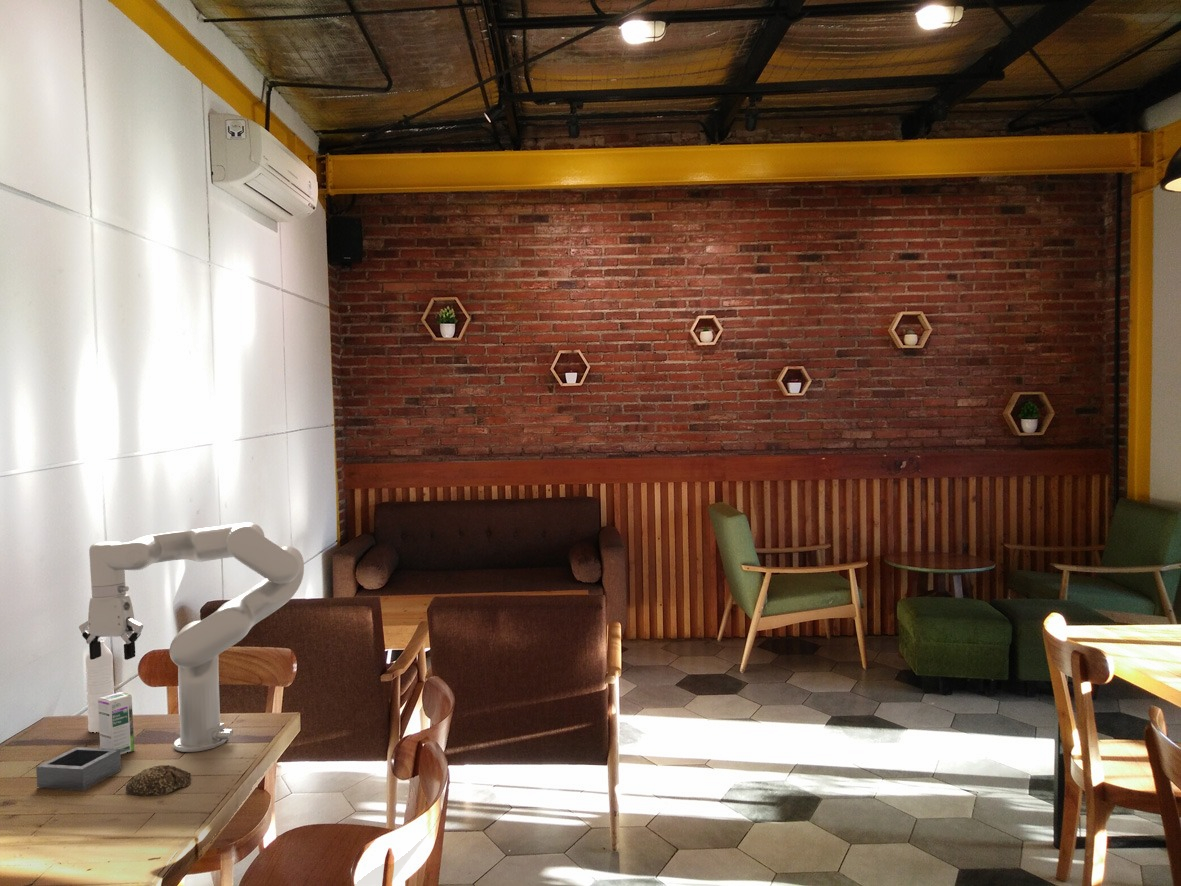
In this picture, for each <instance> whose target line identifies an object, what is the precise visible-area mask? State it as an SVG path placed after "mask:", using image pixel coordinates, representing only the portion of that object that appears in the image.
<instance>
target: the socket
mask: <svg viewBox="0 0 1181 886" xmlns="http://www.w3.org/2000/svg"><path fill="white" fill-rule="evenodd" d="M35 769H36V772H35V773H36V787H39V788H38V789H40V788H48V789H47V790H57V789H62V790H63V791H75V792H76V791H77V792H78V791H79V792H84V791H86V790H87V789H89V788H91V787H93V786H94V784H95V785H96V783H97V784H99V783H100V782H102V781H103V780H106V779H107V778H109V777H111V776H112V775H114V774H116V773H118V772H119V770H120V771H121V770H122V766H121V755H120V749H105V748H100V747H99V748H98V747H84V746H79V747H78V746H76V747H75V746H74V747H73V748H71V749H69V750H67V751H65V752H64V753H61V754H59V755H57V756H56V757H55V756H54V757H53V758H51V759H50V760H47V761H45V762H43V763H41V764H39V765H37V766H36V767H35ZM110 775H111V776H110ZM49 788H50V789H49ZM62 790H61V791H62Z"/></svg>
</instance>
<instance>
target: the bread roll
mask: <svg viewBox="0 0 1181 886" xmlns="http://www.w3.org/2000/svg"><path fill="white" fill-rule="evenodd" d="M191 774H192V773H191V772H189V771H186V770H184V769H182V768H179V767H176V766H174V765H168V764H167V765H166V764H165V765H164V764H163V765H162V764H161V765H158V766H156V765H155V766H152V767H149V768H145V769H143V770H141V771H139V772H138V773H137V774H134V775H133V776H132V777H131V779H130V780H129V781H128V783H127V784H126V786H125V792H126V793H127V794H131V795H132V796H139V797H140V796H141V797H151V796H152V797H153V796H154V797H155V796H158V797H159V796H160V797H161V796H165V795H168V794H170V793H171V794H172V792H173V791H175V790H177V789H180V788H182V789H183V788H186V787H189V786H190V785H191V780H190V779H191Z"/></svg>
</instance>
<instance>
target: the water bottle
mask: <svg viewBox="0 0 1181 886" xmlns="http://www.w3.org/2000/svg"><path fill="white" fill-rule="evenodd" d="M98 641H100V642H101V656H100V657H98V658H96V659H93V660H91V659H90V651H88V652H87V654H86V655H85V656H86V657H85V671H86V674H85V675H86V693H87V694H86V699H87V704H86V705H87V725H88V726H87V728H88V729H87V730H88V732H90V733H92V732H94V734H97V733H99V715H98V698H101V697H105V696H109V695H112V694H115V690H114V689H115V683H114V679H115V678H114V662H113V661H114V656H113V652H112V651H111V650H110V648H109V647H108V646H107V645H106V644H105V640H104V637H100V638H99V639H98ZM96 732H97V733H96Z"/></svg>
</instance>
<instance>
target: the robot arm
mask: <svg viewBox="0 0 1181 886" xmlns="http://www.w3.org/2000/svg"><path fill="white" fill-rule="evenodd" d="M88 550H89V556H88V557H89V569H90V570H89V571H90V585H91V588H90V589H91V597H90V599H89V604H88V617H87V618H88V619H87V621H85V622H84V623H82V624H79V626H78V629H79V631H80V633H81V636H82V637H83V639H84V640H85V643H86V644H88V647H89V651H90V659H91V660H93V659H96V658H98V657H100V656H101V642H100V641H98V639H99V638H104V637H105V638H107V637H108V638H109V637H113V638H115V637H116V638H118V637H119V638H120V637H121V639H122V640H123V642H125V643H124V644H123V656H124V657H123V659H124V660H127V661H128V660H131V659H134V658H135V657H136V642H137V641H138V639H139V637H140V636H141V633H142V630H143V629H144V625H143V624H142V623H141V622H139V621H137V620H135V613H134V608H133V603H132V600H131V597H130V594H129V593H128V594H127V592H128V591H129V590H130V587H129V586H128V585H127V586H126V574H125V573H126V572H125V571H141V570H144V569H146V568H148V567H149V566H151V565H153V564H158V563H164V562H173V561H178V560H181V561H183V560H189V561H193V562H196V563H197V562H199V563H200V562H201V563H202V562H209V561H210V562H211V561H216V560H222V559H229V558H234V559H235V560H237V561H238V562H240V564H243V565H244V566H246V567H247V568H249V569H251V570H252V571H253V572H255V573H256V574H258V575H260V576H262V577H263V578H264V579H263V580H261V582H260V581H259V583H257V584H255V585H254V586H253V587H251V588H250V589H248V590H246V591H244V592H243V593H241V594H239V595H238V596H236V597H234V598H232V599H230V600H228V601H226V602H224V603H223V604H222V605H221V606H220V607H219V608H217V610H215V611H214V612H213V613H211V614H210V615H208V616H207V617H205V618H203V619H202V620H193V621H191V622H189V623H187V624H186V625H184V626H183V627H182V628H181V630H180V631H178V633H177V634H176V635H175V636H174V638H173V639H172V640H171V643H170V645H169V656H170V659H171V661H172V662H173V663H174V664H175V665H176V666H177V669H178V673H177V674H178V675H177V678H178V679H177V680H178V684H177V685H178V709H179V710H178V712H179V736H180V737H178V738H177V739H176V740H174V742H173V749H175V750H176V751H178V752H183V753H194V752H195V753H197V752H201V751H203V752H204V751H207V750H211V749H214V748H216V747H219V746H222V745H223V744H225V743H226V742H227V740H228V741H229V740H231V739H232V738H233V733H234V729H233V728H225V723H224V722H221V713H220V712H221V711H220V710H221V709H220V707H221V706H220V704H221V703H220V682H219V681H220V680H219V679H220V677H219V675H220V674H219V673H220V672H219V671H220V670H219V655H221V654H222V653H223V652H225V651H226V650H228V649H230V648H231V647H233V646H234V645H236V644H238V643H239V642H240V641H242V640H243V639H245V637H246V636H247V635H248V633H249V632H250V630H252V628H253V627H254V626H255V625H256V624H258V623H259V622H261V621H262V620H264V619H266V618H267V617H269V616H271V615H272V614H273V613H274V612H276V611H278V610H279V609H280V608H282V607H283V606H284V605H285V604H287V603H288V602H289V601H290V600H292V598H293V597H294V596H295V594H297V591H298V590H299V588H300V586H301V585H302V584H301V583H302V581H303V579H304V574H305V573H304V571H305V566H304V565H305V563H304V562H305V561H304V557H303V555H302V553H301V551H299V550H298V549H297V548H296V547H294V546H288V545H287V546H286V545H285V546H282V547H281V546H279V544H276V543H274V542H273V541H272V540H270V539H269V538H267V537H265V532H264V530H263V529H262V527H261V526H260V525H258V524H257V523H255V522H240V523H233V524H226V525H220V526H219V525H218V526H212V527H211V526H210V527H203V528H202V527H201V528H197V529H196V528H195V529H194V528H193V529H188V530H183V531H182V530H181V531H171V532H166V533H165V532H163V533H158V534H150V535H145V536H140V537H137V538H135V539H134V540H131V541H126V542H120V541H116V540H114V541H113V540H109V541H100V542H95V543H93V544H92V545H90V547H89V549H88ZM89 651H88V652H89Z"/></svg>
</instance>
